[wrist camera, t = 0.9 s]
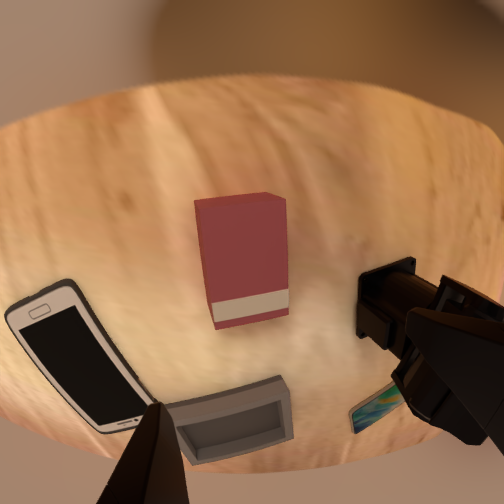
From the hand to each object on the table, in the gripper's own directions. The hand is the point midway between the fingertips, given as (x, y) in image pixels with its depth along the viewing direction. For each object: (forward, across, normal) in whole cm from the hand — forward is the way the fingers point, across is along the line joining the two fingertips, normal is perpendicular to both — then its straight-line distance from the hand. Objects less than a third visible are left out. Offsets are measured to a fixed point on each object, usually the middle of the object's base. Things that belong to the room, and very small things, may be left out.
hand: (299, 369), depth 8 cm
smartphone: (+12, -17, +25) cm, 32 cm away
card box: (+11, 0, 0) cm, 11 cm away
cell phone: (+11, +14, +6) cm, 19 cm away
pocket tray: (+11, +4, +15) cm, 19 cm away
